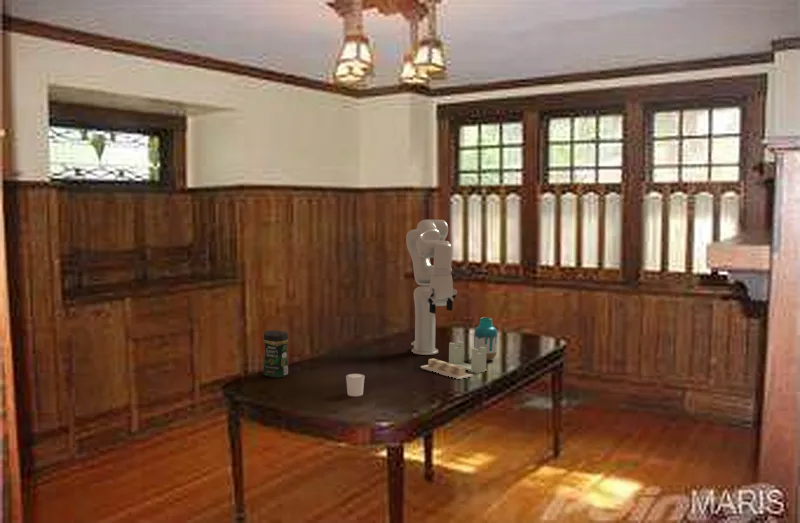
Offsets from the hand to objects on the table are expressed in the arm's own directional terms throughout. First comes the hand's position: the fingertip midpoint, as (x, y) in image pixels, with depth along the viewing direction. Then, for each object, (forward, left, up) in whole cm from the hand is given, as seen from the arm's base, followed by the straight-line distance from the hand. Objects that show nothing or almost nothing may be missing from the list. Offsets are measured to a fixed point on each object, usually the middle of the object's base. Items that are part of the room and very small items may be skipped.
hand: (440, 311), depth 295 cm
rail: (+8, -3, -24) cm, 25 cm away
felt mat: (+8, -3, -24) cm, 26 cm away
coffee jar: (-29, -63, -25) cm, 74 cm away
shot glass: (+12, -52, -25) cm, 59 cm away
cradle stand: (+8, +9, -24) cm, 27 cm away
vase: (+2, +26, -25) cm, 36 cm away
